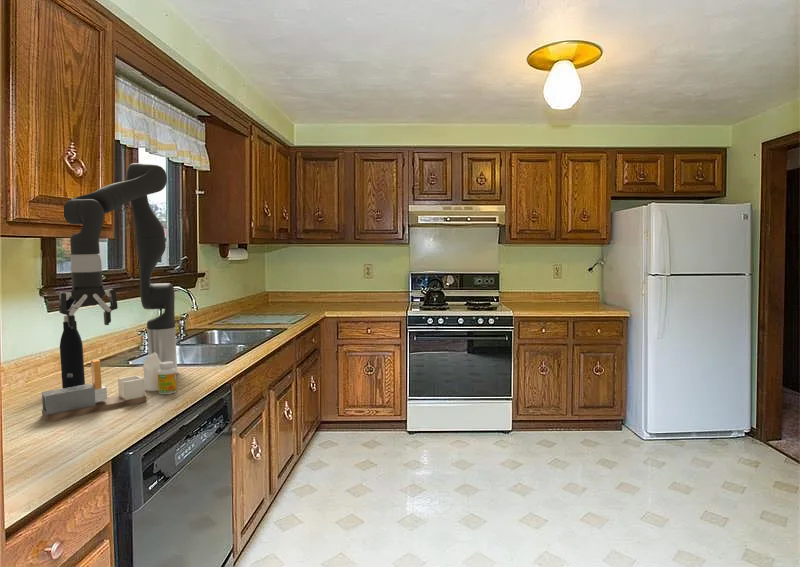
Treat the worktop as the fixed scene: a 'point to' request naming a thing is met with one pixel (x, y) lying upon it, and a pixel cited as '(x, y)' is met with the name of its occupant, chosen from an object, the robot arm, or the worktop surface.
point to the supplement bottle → (167, 378)
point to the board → (95, 407)
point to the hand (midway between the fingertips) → (90, 326)
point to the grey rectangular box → (68, 399)
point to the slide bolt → (96, 382)
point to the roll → (151, 372)
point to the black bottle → (71, 354)
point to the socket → (131, 387)
